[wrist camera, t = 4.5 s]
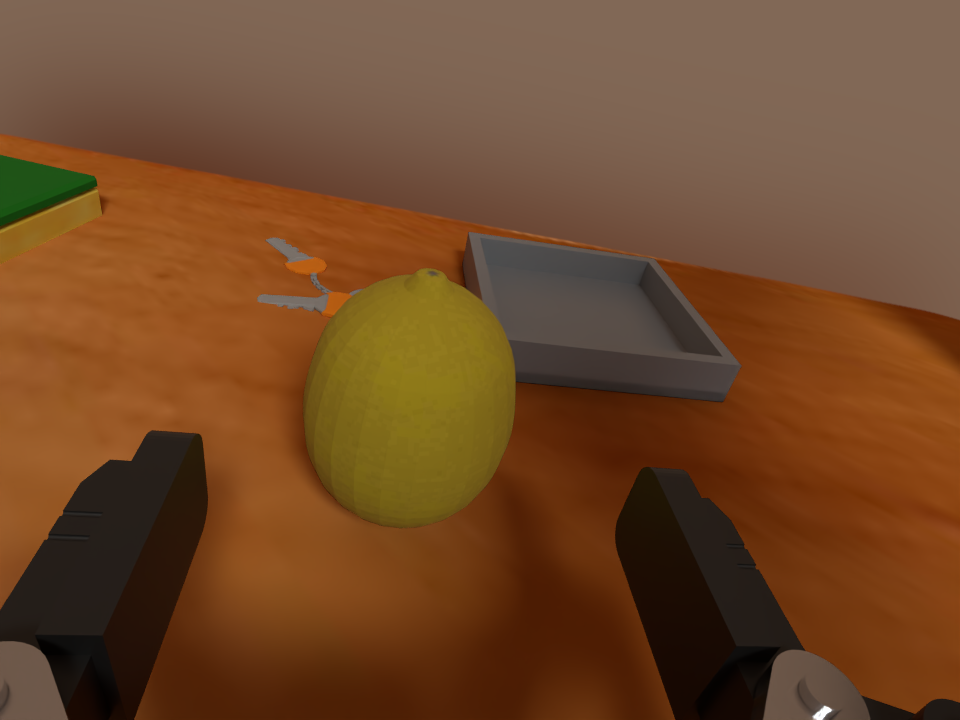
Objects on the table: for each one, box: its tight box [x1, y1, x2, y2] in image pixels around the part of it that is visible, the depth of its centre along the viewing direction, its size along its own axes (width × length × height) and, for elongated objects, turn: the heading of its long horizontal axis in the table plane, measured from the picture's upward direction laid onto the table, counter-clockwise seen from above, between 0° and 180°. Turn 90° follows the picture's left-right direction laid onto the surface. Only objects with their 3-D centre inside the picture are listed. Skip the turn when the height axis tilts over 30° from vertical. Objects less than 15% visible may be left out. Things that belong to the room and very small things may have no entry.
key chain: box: [257, 238, 363, 318], centre depth 29 cm, size 13×7×1 cm, turn 79°
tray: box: [462, 232, 741, 402], centre depth 30 cm, size 11×11×2 cm
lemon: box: [303, 268, 516, 528], centre depth 16 cm, size 6×6×8 cm
